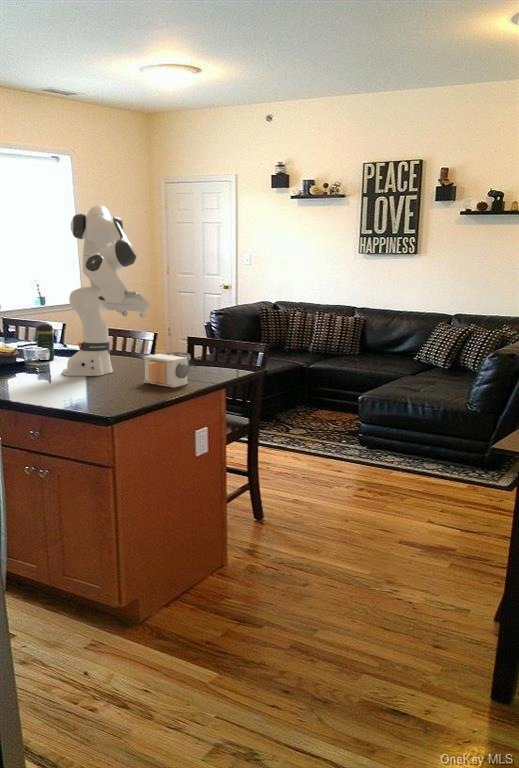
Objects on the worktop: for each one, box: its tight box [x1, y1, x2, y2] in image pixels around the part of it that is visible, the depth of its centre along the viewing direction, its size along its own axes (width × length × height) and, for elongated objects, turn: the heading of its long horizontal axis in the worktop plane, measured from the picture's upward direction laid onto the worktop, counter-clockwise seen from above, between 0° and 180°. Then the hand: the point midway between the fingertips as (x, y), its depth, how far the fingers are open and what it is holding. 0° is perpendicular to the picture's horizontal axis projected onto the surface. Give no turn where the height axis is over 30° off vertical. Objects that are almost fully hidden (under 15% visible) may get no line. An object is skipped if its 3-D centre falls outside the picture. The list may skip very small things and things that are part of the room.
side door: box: [148, 361, 166, 383], centre depth 269 cm, size 8×5×8 cm, turn 55°
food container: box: [165, 351, 192, 377], centre depth 295 cm, size 12×6×10 cm, turn 65°
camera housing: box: [142, 353, 189, 388], centre depth 274 cm, size 18×10×12 cm, turn 55°
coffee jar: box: [36, 322, 55, 361], centre depth 327 cm, size 10×8×19 cm
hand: (134, 315), depth 255 cm, fingers open, 8 cm apart
